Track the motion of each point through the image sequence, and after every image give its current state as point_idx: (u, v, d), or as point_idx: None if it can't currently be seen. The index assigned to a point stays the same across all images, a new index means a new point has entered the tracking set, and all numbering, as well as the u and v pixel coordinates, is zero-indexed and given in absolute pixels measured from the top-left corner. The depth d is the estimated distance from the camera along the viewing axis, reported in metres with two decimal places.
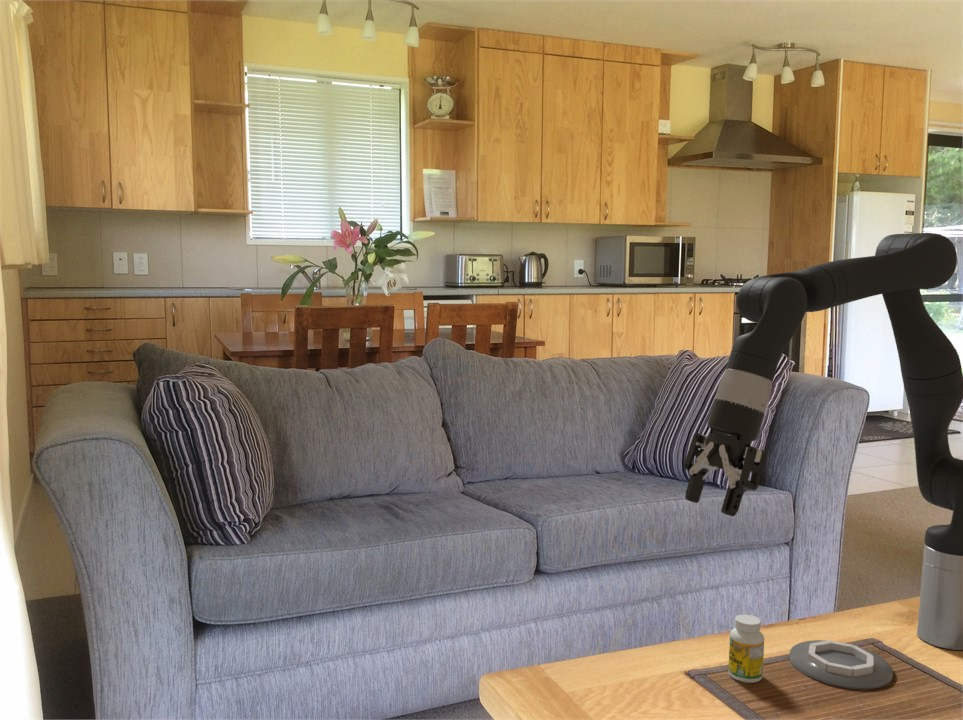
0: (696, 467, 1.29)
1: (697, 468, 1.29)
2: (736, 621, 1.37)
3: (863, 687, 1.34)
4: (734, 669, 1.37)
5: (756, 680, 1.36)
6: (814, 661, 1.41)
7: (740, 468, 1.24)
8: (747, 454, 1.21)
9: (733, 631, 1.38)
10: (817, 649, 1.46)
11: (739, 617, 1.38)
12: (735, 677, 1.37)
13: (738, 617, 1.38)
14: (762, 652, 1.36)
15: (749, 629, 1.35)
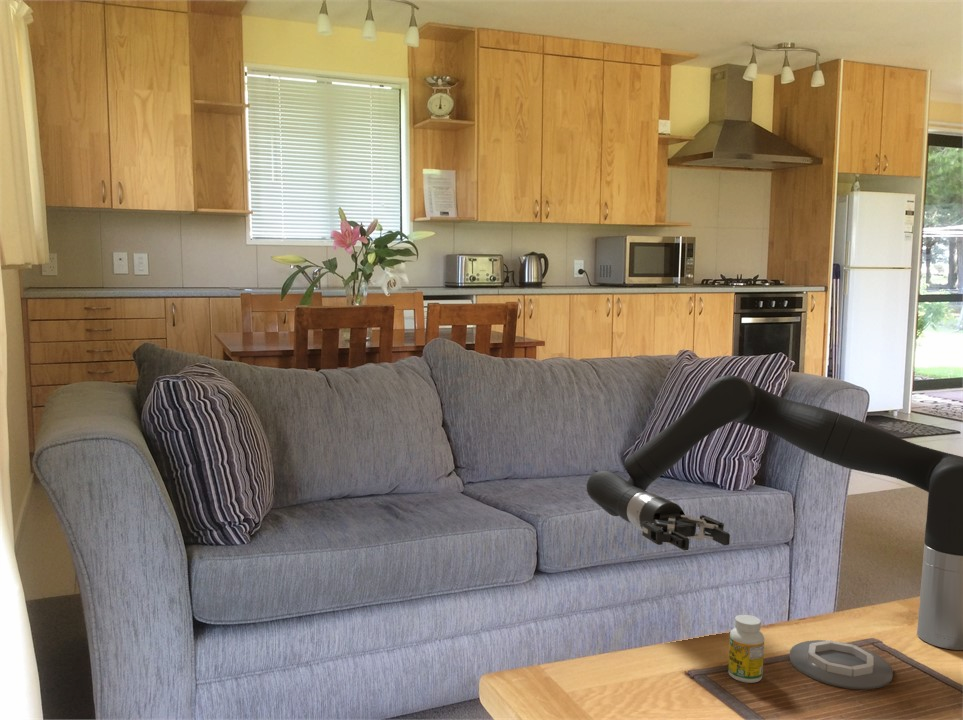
0: (707, 537, 1.53)
1: (706, 537, 1.53)
2: (736, 621, 1.37)
3: (863, 687, 1.34)
4: (734, 669, 1.37)
5: (756, 680, 1.36)
6: (814, 661, 1.41)
7: None
8: None
9: (733, 631, 1.38)
10: (817, 649, 1.46)
11: (739, 617, 1.38)
12: (735, 677, 1.37)
13: (738, 617, 1.38)
14: (762, 652, 1.36)
15: (749, 629, 1.35)
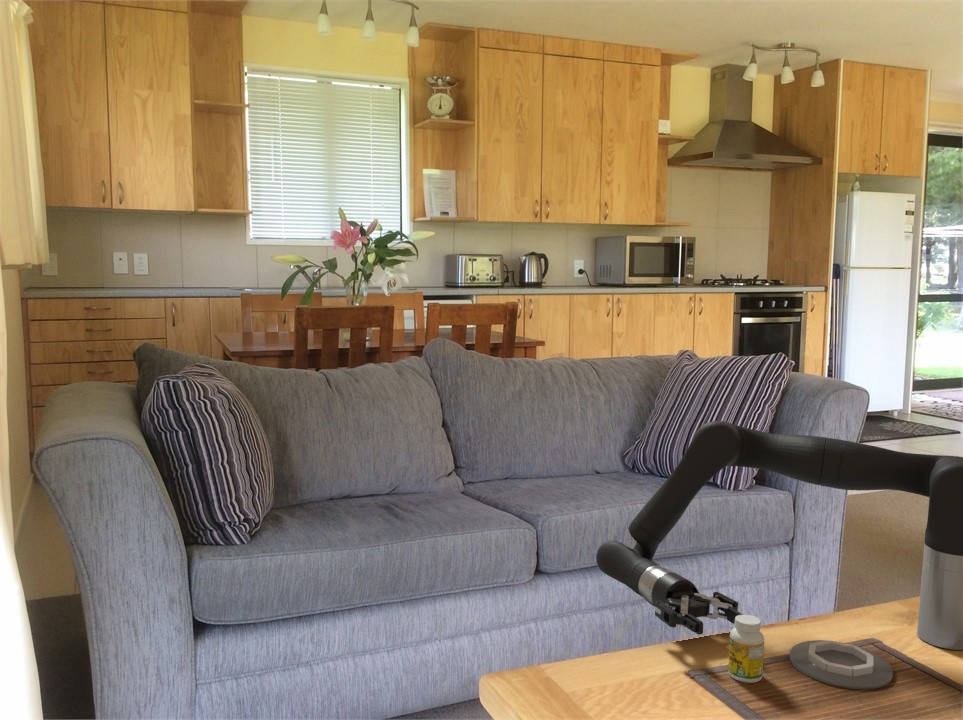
0: (721, 617, 1.50)
1: (720, 617, 1.50)
2: (736, 621, 1.37)
3: (863, 687, 1.34)
4: (734, 669, 1.37)
5: (756, 680, 1.36)
6: (814, 661, 1.41)
7: None
8: None
9: (733, 631, 1.38)
10: (817, 649, 1.46)
11: (739, 617, 1.38)
12: (735, 677, 1.37)
13: (738, 617, 1.38)
14: (762, 652, 1.36)
15: (749, 629, 1.35)
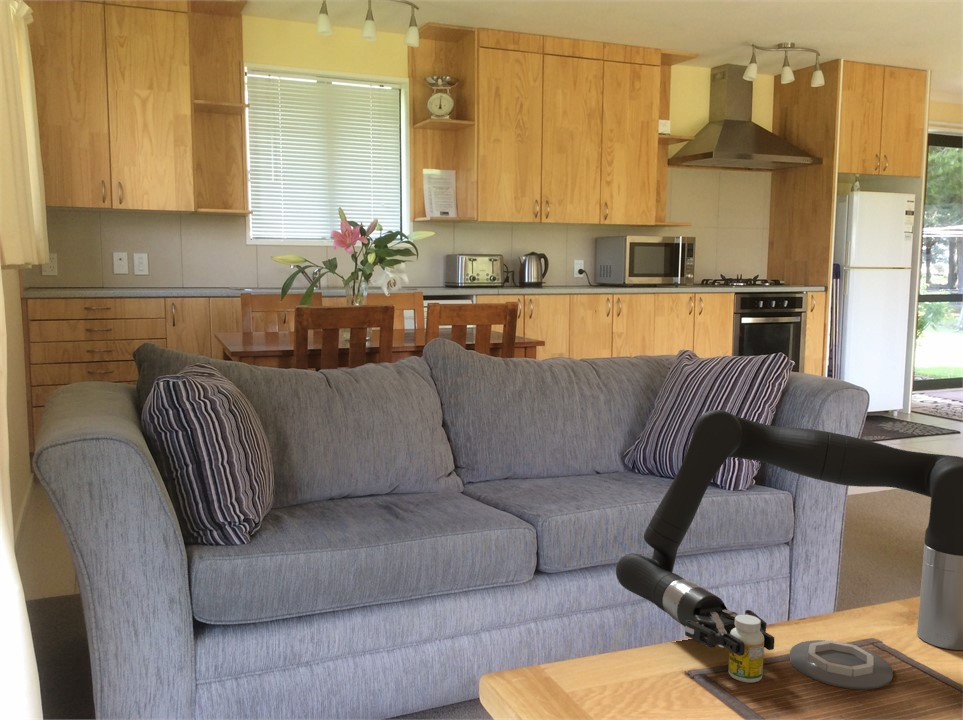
0: None
1: None
2: (736, 621, 1.37)
3: (863, 687, 1.34)
4: (734, 669, 1.37)
5: (756, 680, 1.36)
6: (814, 661, 1.41)
7: None
8: None
9: (733, 631, 1.38)
10: (817, 649, 1.46)
11: (739, 617, 1.38)
12: (735, 677, 1.37)
13: (738, 617, 1.38)
14: (762, 652, 1.36)
15: (749, 629, 1.35)
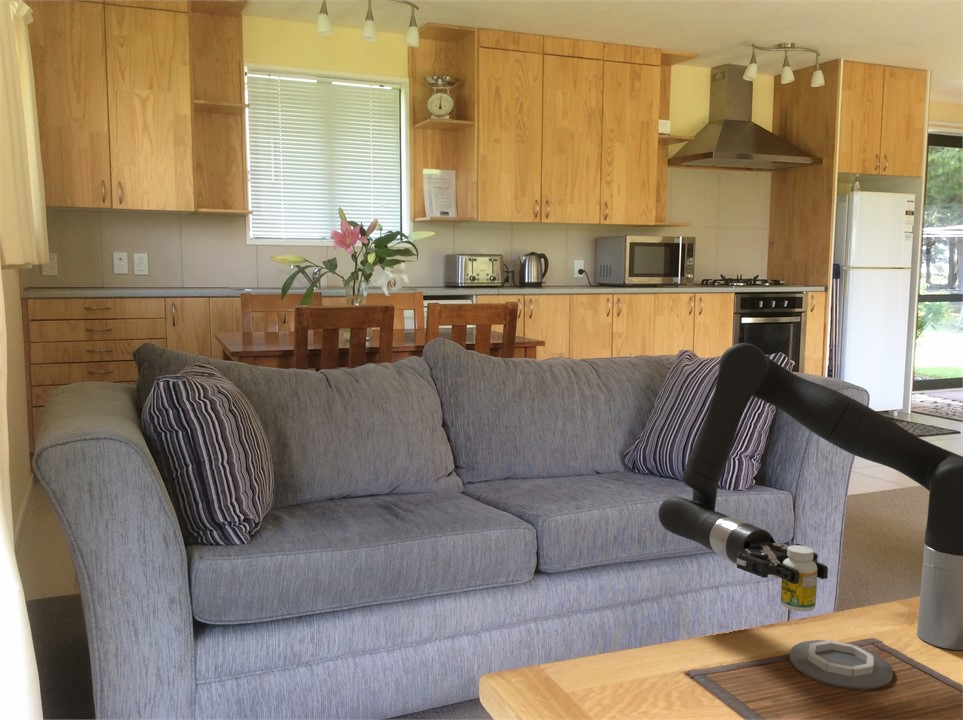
0: None
1: None
2: (789, 551, 1.37)
3: (863, 687, 1.34)
4: (787, 599, 1.37)
5: (810, 609, 1.36)
6: (814, 661, 1.41)
7: None
8: None
9: (786, 561, 1.38)
10: (817, 649, 1.46)
11: (791, 547, 1.38)
12: (789, 606, 1.37)
13: (791, 547, 1.38)
14: (815, 581, 1.36)
15: (803, 558, 1.36)
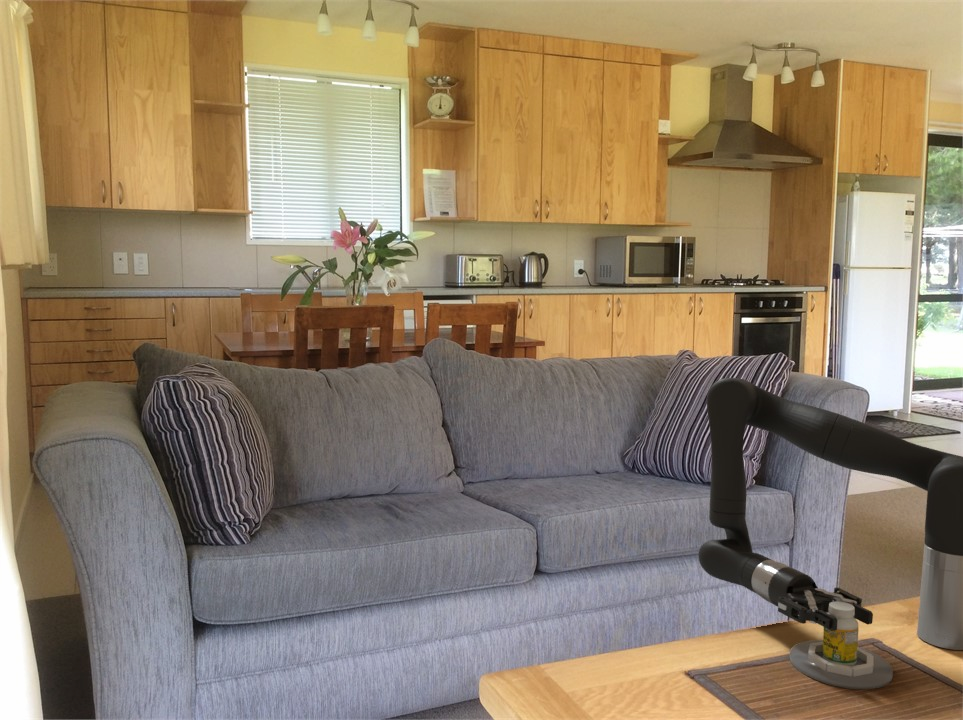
0: None
1: None
2: (830, 607, 1.41)
3: (863, 687, 1.34)
4: (829, 654, 1.41)
5: (852, 664, 1.40)
6: (814, 661, 1.41)
7: None
8: None
9: None
10: (817, 649, 1.46)
11: (833, 604, 1.42)
12: (831, 662, 1.41)
13: (832, 603, 1.42)
14: (857, 637, 1.40)
15: (844, 615, 1.40)
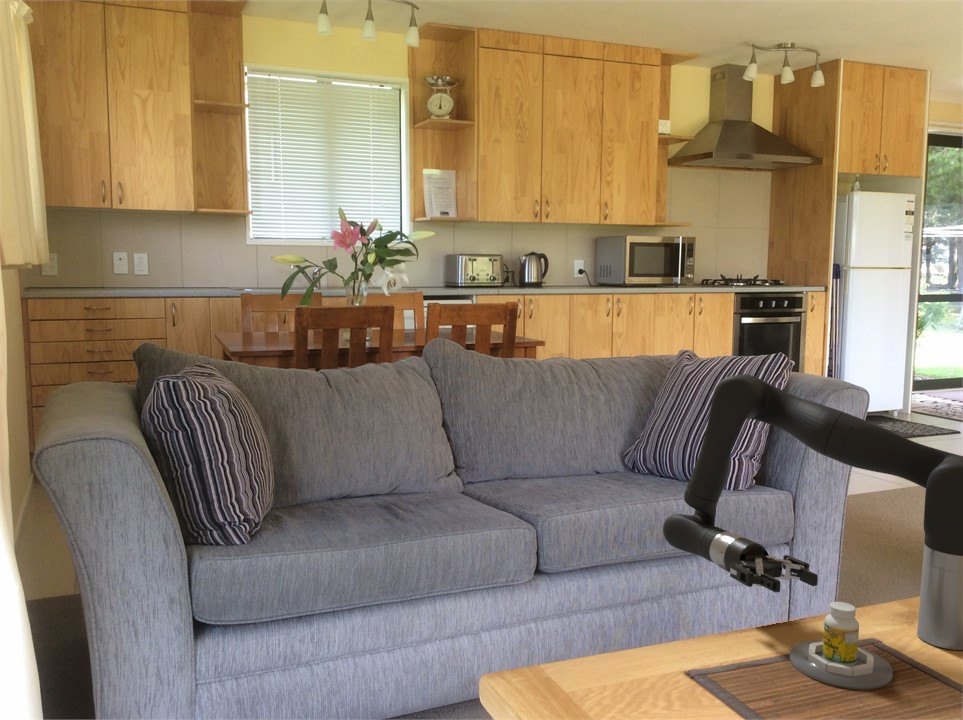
0: (793, 577, 1.58)
1: (793, 578, 1.58)
2: (831, 608, 1.41)
3: (863, 687, 1.34)
4: (829, 655, 1.41)
5: (852, 665, 1.40)
6: (814, 661, 1.41)
7: None
8: None
9: (828, 617, 1.42)
10: (817, 649, 1.46)
11: (834, 604, 1.42)
12: (831, 662, 1.41)
13: (833, 604, 1.42)
14: (857, 638, 1.40)
15: (845, 616, 1.40)
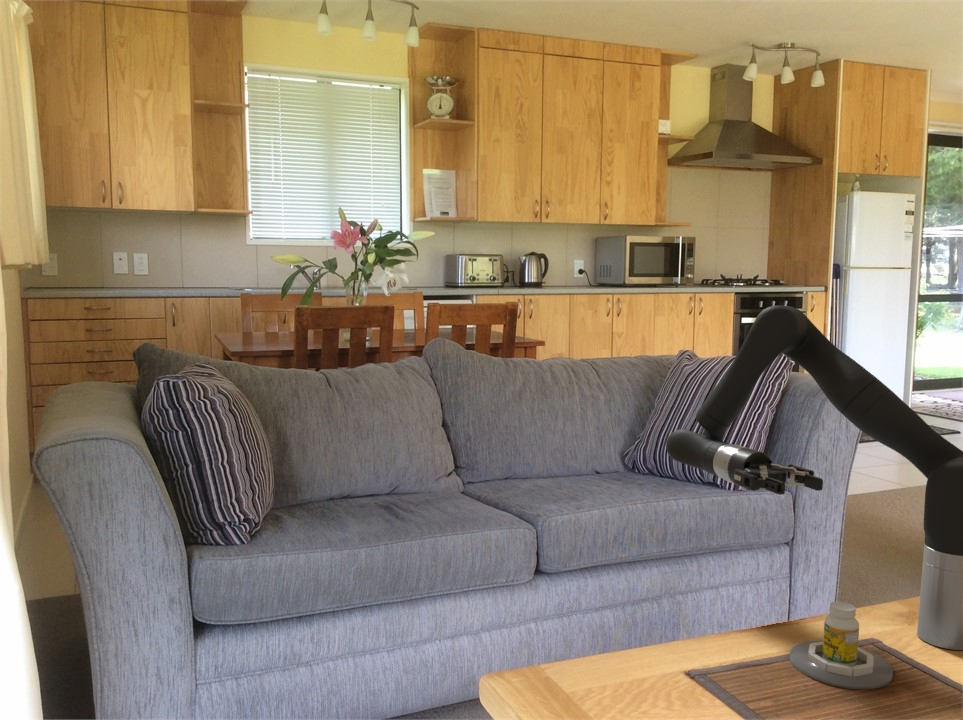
0: (798, 484, 1.56)
1: (797, 484, 1.56)
2: (831, 607, 1.41)
3: (863, 687, 1.34)
4: (829, 654, 1.41)
5: (852, 665, 1.40)
6: (814, 661, 1.41)
7: None
8: None
9: (828, 617, 1.42)
10: (817, 649, 1.46)
11: (834, 604, 1.42)
12: (831, 662, 1.41)
13: (833, 603, 1.42)
14: (857, 638, 1.40)
15: (845, 615, 1.40)
